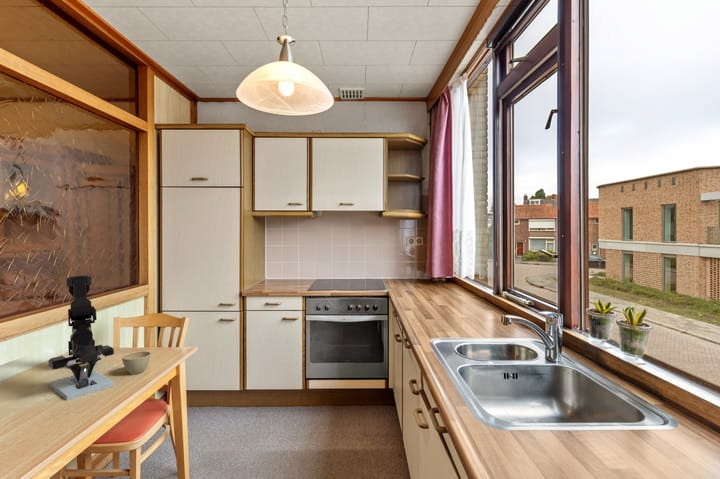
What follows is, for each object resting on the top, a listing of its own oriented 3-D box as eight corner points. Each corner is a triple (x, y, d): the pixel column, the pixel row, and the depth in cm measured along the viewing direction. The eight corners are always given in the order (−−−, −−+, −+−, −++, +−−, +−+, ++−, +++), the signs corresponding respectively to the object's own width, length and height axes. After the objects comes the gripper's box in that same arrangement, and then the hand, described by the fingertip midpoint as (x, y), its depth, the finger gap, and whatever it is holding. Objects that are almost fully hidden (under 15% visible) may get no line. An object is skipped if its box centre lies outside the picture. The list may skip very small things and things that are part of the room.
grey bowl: (137, 377, 142) (137, 360, 142) (116, 376, 144) (115, 358, 144) (156, 368, 152) (156, 351, 151) (136, 366, 154) (136, 350, 153)
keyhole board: (49, 386, 135) (49, 381, 135) (93, 373, 146) (93, 369, 146) (67, 400, 123) (67, 395, 123) (113, 385, 135) (113, 381, 135)
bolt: (75, 387, 133) (74, 362, 133) (88, 383, 137) (87, 359, 136) (79, 390, 131) (78, 364, 131) (92, 386, 134) (91, 361, 134)
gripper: (57, 349, 121) (58, 394, 122) (119, 335, 136) (120, 375, 137) (47, 343, 127) (48, 386, 128) (107, 330, 143) (108, 369, 143)
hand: (83, 379), depth 134 cm, fingers closed on bolt, 3 cm apart
